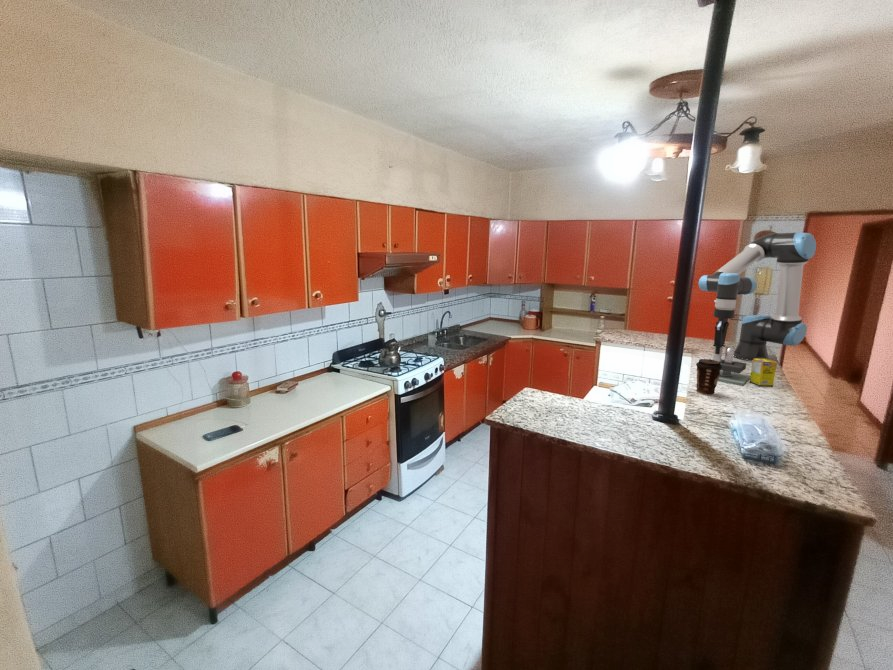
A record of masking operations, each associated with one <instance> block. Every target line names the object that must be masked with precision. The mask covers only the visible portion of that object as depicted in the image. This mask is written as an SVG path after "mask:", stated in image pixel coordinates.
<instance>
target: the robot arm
mask: <svg viewBox="0 0 893 670" xmlns="http://www.w3.org/2000/svg"><path fill="white" fill-rule="evenodd" d="M816 251H817V242H816V238H815V237H814V235H813V234H812V233H808V232H800V231H799V232H775V233H768V234H766V235H762V236H761V237H759V238H758V237H757V239H755V240H753V241H751V242H750V243H748V244H747V245H746V246H745V247H744V248H743V250H742V251H741V252H739V254H737V255H735V256H734V257H733V258H732V259H731V260H729V261H728V262H727V263H725V264H724V265H723V266H721V267H720V268H719V269H717V270H716V271H715V272H714V273H712V274H704V275H702V276H701V277H700V278H699V280H698V288H699V290H701V291H703V292H707V293H709V292H711V293H716V296H715V300H713V302H714V303H715V304H714V309H713V314H712V315H713V317H714V318H716V319H717V318H718V319H717V321H716V322H715V326H714V338H713V339H714V341H713V345H712V346H713V347H714V350H713V352H714V353H713V358H712V360H715V361H719V362H720V361H721V359H722V357H723V349H724V347H725V348H726V344H725V342H726V340H727V339H726V338H727V333H728V330H729V329H728V328H729V326H730V322H729V320H731V319H734V317H735V309H736V304H737V296H738V295H751V294H752V293H754V292H755V291H756V290H757V286H758V285H757V281H756V280H755V279H754V278H752V277H746V276H743V277H741V273H743V272H744V271H746V270H747V269H748V268H749V267H751V266H752V265H753V264H754V263H757V262H760V261H762V260H764V259H768V258H769V259H771V258H772V259H773V258H775V259H776V264H778V265H779V276H778V286H777V297H776V298H777V300H776V305H775V306H776V307H775V310H776V311H775V314H774V315H772V316H771V315H769V314H767V315H766V314H765V315H764V314H763V315H762V314H757V315H752V314H750V315H745V316H743V318H742V322H741V328H740V335H739V340H738V344H737V346H736V347H735V349H734V356H736V357H739V358H743V359H748V360H753V359H754V358H758V359H769V352H768V349H767V343H768V342H769V343H773V344H779V345H783V346H790V347H794V346H798V345H799V344H800V343H802V341H803V340H804V338H805V336H806V334H807V330H808V327H807V326H808V325H807V324H806V323H804V322H802V321H803V320H802V319H803V318H802V317H801V316H800V315H799V310H800V309H799V308H800V301H801V294H802V293H801V291H802V283H803V275H804V274H803V273H804V266H805V265H806V264H807V263H808V262H809V259H812V258H813V257H814V256H815V253H816ZM748 360H747V361H748Z"/></svg>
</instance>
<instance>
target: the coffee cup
mask: <svg viewBox="0 0 893 670" xmlns="http://www.w3.org/2000/svg"><path fill="white" fill-rule="evenodd" d="M695 365H696V391H695V392H697V393H698V394H701V395H706V396H711V395H713V396H714V395H715V393H716V392H715V391H716V388H717V386H718V382H719V381H718V379H719V375H720V369H721V368H722V366H721V364H720V362H718V361H715V360H713V359H711V358H709V359H708V358H707V359H706V358H701V359H699V360H698V362H696V364H695Z"/></svg>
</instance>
